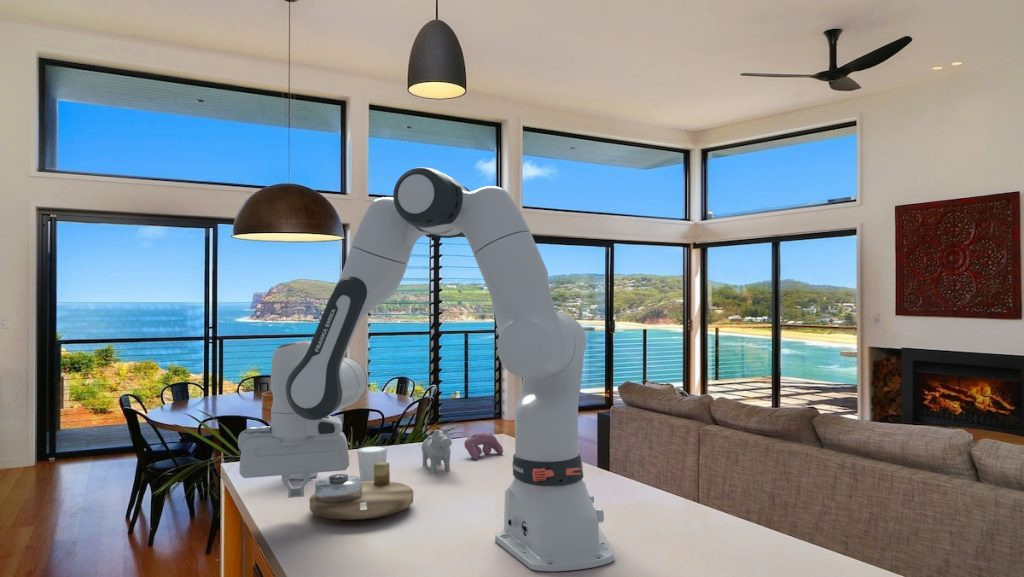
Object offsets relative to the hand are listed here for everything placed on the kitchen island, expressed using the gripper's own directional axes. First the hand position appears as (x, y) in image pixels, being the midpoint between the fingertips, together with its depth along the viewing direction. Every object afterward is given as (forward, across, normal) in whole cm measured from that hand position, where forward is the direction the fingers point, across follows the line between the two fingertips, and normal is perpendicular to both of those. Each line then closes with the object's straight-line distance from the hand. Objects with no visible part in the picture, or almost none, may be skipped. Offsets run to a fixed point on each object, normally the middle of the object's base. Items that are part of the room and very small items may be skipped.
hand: (296, 496), depth 129 cm
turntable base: (+4, +12, 0) cm, 13 cm away
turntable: (+2, +12, 0) cm, 13 cm away
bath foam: (+4, 0, +31) cm, 31 cm away
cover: (+1, +8, 0) cm, 8 cm away
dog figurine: (+4, +32, +28) cm, 42 cm away
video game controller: (+4, +45, +39) cm, 60 cm away
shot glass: (+4, +16, +24) cm, 29 cm away
